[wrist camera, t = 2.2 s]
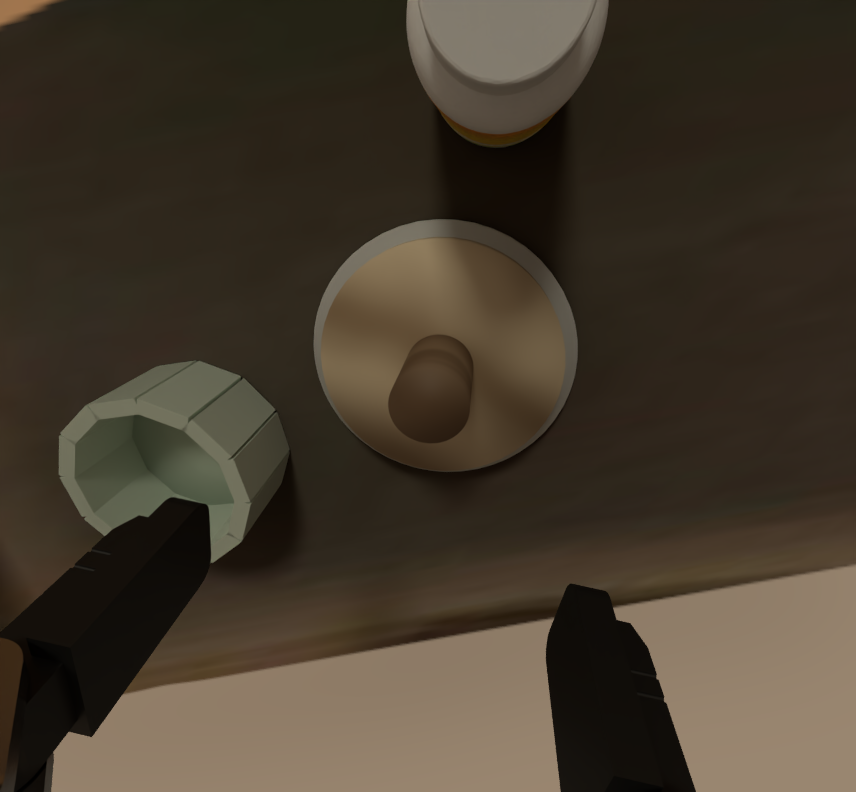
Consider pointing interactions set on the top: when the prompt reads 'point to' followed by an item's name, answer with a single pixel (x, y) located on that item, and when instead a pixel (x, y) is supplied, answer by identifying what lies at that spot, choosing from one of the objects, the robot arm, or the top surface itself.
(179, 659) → the top surface
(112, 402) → the bowl
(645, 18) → the top surface
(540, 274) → the mat
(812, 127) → the top surface
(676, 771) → the robot arm
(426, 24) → the supplement bottle
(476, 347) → the lid
